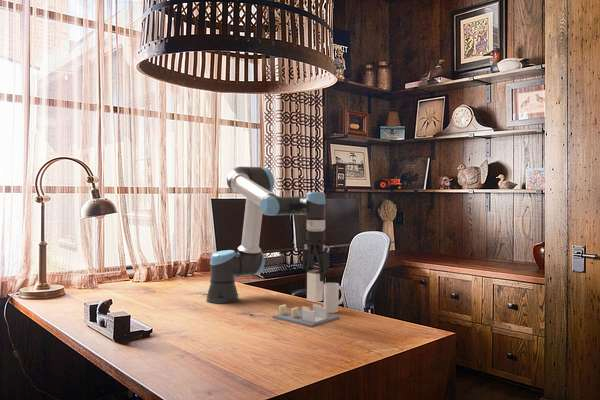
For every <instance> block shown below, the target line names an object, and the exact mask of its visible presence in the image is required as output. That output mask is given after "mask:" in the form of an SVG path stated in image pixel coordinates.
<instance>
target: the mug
mask: <svg viewBox="0 0 600 400" xmlns="http://www.w3.org/2000/svg"><path fill="white" fill-rule="evenodd" d="M339 291H341V297H340V299H339V295H340V292H339ZM344 298H345V289H344V288H343V285H340V284H339V283H338V282H325V283H324V282H323V307H325V308H327V314H335V313H338V312H339V305H342V304H343V301H344Z"/></svg>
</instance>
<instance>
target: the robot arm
mask: <svg viewBox="0 0 600 400" xmlns="http://www.w3.org/2000/svg"><path fill="white" fill-rule="evenodd" d="M226 185H227V186H228V188H229V190H231V191H232V192H234V193H235V194H237V195H238V194H239V195H242V196H243V197H245V198H246V199H245V208H244V217H243V226H242V233H241V234H242V235H241V236H242V237H241V244H240V245H239V246H238V247H237V251H235V250H233V249H227V250H220V251H215V252H213V253H212V254H210V262H209V264H210V268H209V269H210V270H209V271H210V275H209V276H210V282H209V288H208V289H207V293H206V302H208V303H211V304H212V303H213V304H230V303H235V302H237V301H239V293H238V290H237V286H236V278H238V277H252V276H257V275H260V274H261V273H262V272H263V270H264V268H265V264H266V259H265V254H264V253H263V252H262V249H261V248H260V238H261V237H260V236H261V232H262V231H261V230H262V229H261V228H262V222H263V215H264V216H271V217H272V216H306V230H307V231H306V233H305V234H306V236H305V238H306V239H305V240H307V242H306V243H305V244H302V245H301V246H300V247H301V248H300V249H301V250H302V251H301V257H302V259H301V261H302V262H301V265H302V267H301V268H302V270H303V271H304V270H305V273H306V279H307V273H309V270H313V265H314V259H315V257H316V261H317V266H318V270H319V272H318V290H321V289H323V290H324V282H325V274H326V273H327V272H330V251H331V247H330V246H327V245H326V244H325V240H326V232H325V230H326V194H325V192H322V191H308V192H307V193H306V196H300V195H299V196H280V195H279V196H278V195H277V194H274V193H273V192H272V191H273V189H274V187H275V179H274V175H273V172H272V171H271V170H270V169H269V168H267V167H263V166H236V167H234V168H232V169H231V170H230V171H229V172H228V173H227V177H226Z"/></svg>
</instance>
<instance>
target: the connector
mask: <svg viewBox="0 0 600 400" xmlns="http://www.w3.org/2000/svg"><path fill="white" fill-rule="evenodd" d="M318 272H319V269H312V270H309V273H307V278H306V301H309V302H312V303H313V302H314V303H317V302H322V301H324V288H323V289H321V290H318Z"/></svg>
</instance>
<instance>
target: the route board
mask: <svg viewBox="0 0 600 400" xmlns="http://www.w3.org/2000/svg"><path fill="white" fill-rule="evenodd" d="M271 317H272V318H273V319H277V320H282V321H284V322H290V323H293V324H298V325H301V326H306V327H309V328H312V327H316V326H318V325H319V326H320V325H323V324H325V323H326V324H327V323H329V322H332V321H336V320H339V319H340V316H338V315H334V314H331V313H327V308H325V307H324V306H321V304H317V303H313V304H312V310H311V308H310V307H308V306H307V307H306V306H301V307H298V306H296V307H292V308H290V310H289V311H287V304H281V305H278V314H273V315H272V316H271Z"/></svg>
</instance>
